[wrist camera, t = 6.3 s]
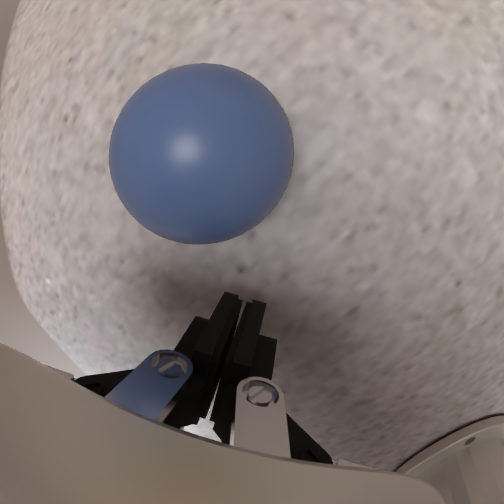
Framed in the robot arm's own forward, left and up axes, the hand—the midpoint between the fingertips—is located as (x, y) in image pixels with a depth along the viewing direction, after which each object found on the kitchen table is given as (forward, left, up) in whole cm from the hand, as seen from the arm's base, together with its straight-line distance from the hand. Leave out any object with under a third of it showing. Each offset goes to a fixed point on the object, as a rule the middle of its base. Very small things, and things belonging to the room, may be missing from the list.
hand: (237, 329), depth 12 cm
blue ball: (+6, -1, +1) cm, 7 cm away
